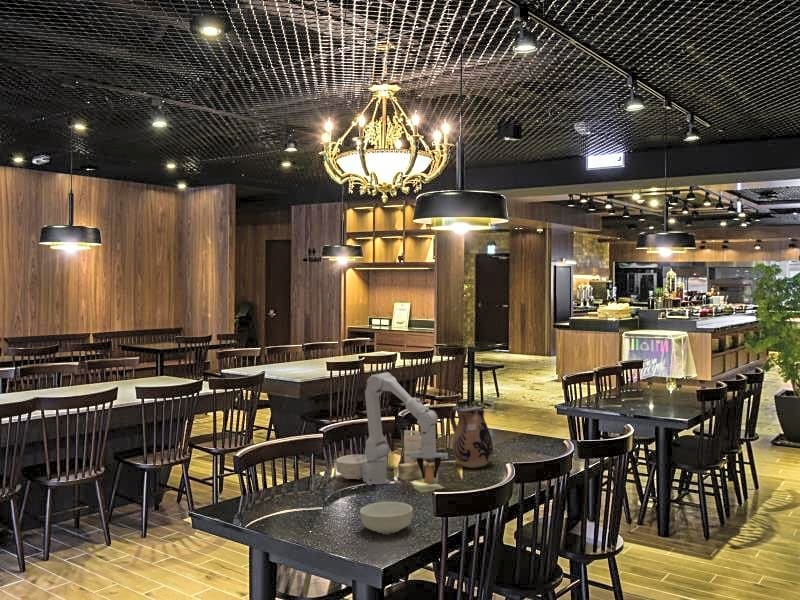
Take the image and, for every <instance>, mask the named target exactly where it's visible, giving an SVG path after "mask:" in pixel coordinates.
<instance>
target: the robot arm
mask: <svg viewBox="0 0 800 600" xmlns="http://www.w3.org/2000/svg"><path fill="white" fill-rule="evenodd" d="M383 392H391V394H393V395H395V396H396V397H397V398H398V399H399V400H401V401H402V402H403V403H404V404H405V409H406V410H407V411H408V412H409V413H410V414H411V415H412V416H413V417H414V418H416V420H417V421H416V422H417V424H418V426H419V429H420V436H421V453H415V454H410V460H413V459H417V463H418V465H419V467H420V470H421V473H422V478H424V465H423V459H426V460H434V467H435V478H436V476H437V471H438V472H439V468H440V464H441V463H442V459H443V460H444V459H445V460H448V459H449V455H448V452H437V438H436V437H437V433H436V424H437V422H438V420H439V418H438V417H439V416H438V414H437V412H436V411H435V410H432V409H429V407H427V406H426V405H424V404H423V402H421V399H420V398H417V397H412V396H411V395H410V394H409V393H408V392H407V391H406V390H405V389H404V388H403V386H401V384H400V383H399V382H398V381H397V379H396V377H395V376H393V375H392V374H391V373H390V372H389V371H386V372H382V373H375V374H372V375H370V376H369V378H368V379H367V380H366V388H365V391H364V396H365V397H364V398H365V407H366V408H365V409H366V417H367V427H368V438H367V439H366V441H365V448H364V455H365V456H366V458H367V459H368V461H364V462H363V465H362V473H363V479H362V480H363V481H364V482H363V481H362V482H363V483H365V482H366V483H367V484H368V486H371V485H370V484H375V485H381V484H380V483H382V484H389V483H388V482H390V483H391V481H390V479H388V476H387V471H388V469H387V458H388V455H389V454H390V446H389V444H388V441H387V438H386V436H385V435H384V433H383V424H382V414H381V405H380V404H381V403H380V396H381V394H383ZM366 483H365V484H366ZM367 484H366V485H367Z"/></svg>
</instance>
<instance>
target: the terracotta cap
mask: <svg viewBox="0 0 800 600" xmlns="http://www.w3.org/2000/svg"><path fill="white" fill-rule="evenodd" d="M434 467H435V465H432V464H429V465H426V466H424V483H425V484H429V483H434V482H435V473H434Z"/></svg>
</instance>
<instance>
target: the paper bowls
mask: <svg viewBox="0 0 800 600" xmlns="http://www.w3.org/2000/svg"><path fill="white" fill-rule="evenodd" d="M364 461H368V459H367V458H366V456H365V454H358V453H357V454H349V455H343V456H340V457H338V458H336V460H335V464H336V465H335V466H336V468H335V469H336V472H337V473H338V474H341V477H342V478H343V477H344V478H343V479H345V478H346V479H345V480H348V479H357V480H361V479H360V478H363V473H362V465H363V462H364Z"/></svg>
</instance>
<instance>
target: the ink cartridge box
mask: <svg viewBox="0 0 800 600" xmlns="http://www.w3.org/2000/svg"><path fill="white" fill-rule="evenodd" d="M403 453H404V454H403V455H404V464H405V463H412V462H417V459H413V460H410V454H415V453H421V430H420V431H419V430H407V429H406V430H405V429H404V431H403ZM423 461H426V462H427V459H423Z"/></svg>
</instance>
